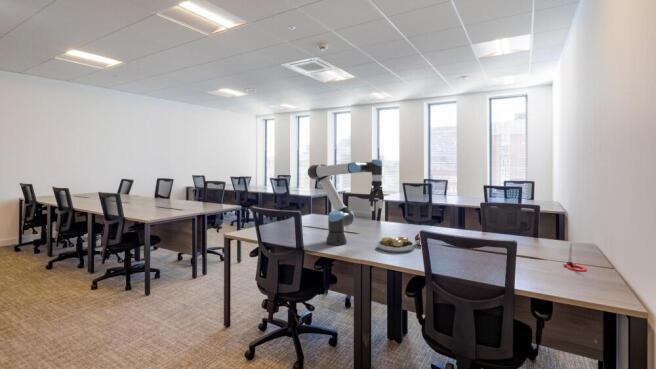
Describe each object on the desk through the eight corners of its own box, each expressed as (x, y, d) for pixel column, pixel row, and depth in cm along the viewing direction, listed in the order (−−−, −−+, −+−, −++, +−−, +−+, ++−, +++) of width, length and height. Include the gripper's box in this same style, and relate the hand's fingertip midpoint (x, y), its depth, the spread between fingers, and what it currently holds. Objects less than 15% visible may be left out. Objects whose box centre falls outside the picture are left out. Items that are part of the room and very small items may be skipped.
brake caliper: (430, 239, 237) (431, 228, 230) (431, 251, 229) (432, 241, 222) (414, 239, 240) (414, 228, 233) (414, 251, 232) (414, 240, 224)
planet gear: (380, 245, 227) (380, 238, 227) (384, 243, 233) (384, 236, 233) (390, 246, 223) (390, 239, 223) (394, 244, 230) (394, 237, 229)
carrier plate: (372, 250, 221) (372, 239, 221) (386, 242, 242) (386, 232, 241) (407, 254, 208) (407, 243, 208) (418, 246, 229) (418, 236, 228)
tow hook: (590, 271, 172) (575, 265, 181) (592, 248, 170) (576, 243, 179) (576, 272, 171) (561, 266, 180) (577, 249, 169) (562, 243, 178)
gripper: (373, 181, 224) (373, 212, 226) (388, 179, 245) (388, 207, 247) (364, 181, 229) (363, 211, 230) (379, 179, 249) (379, 206, 251)
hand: (376, 209), depth 238 cm, fingers open, 13 cm apart
